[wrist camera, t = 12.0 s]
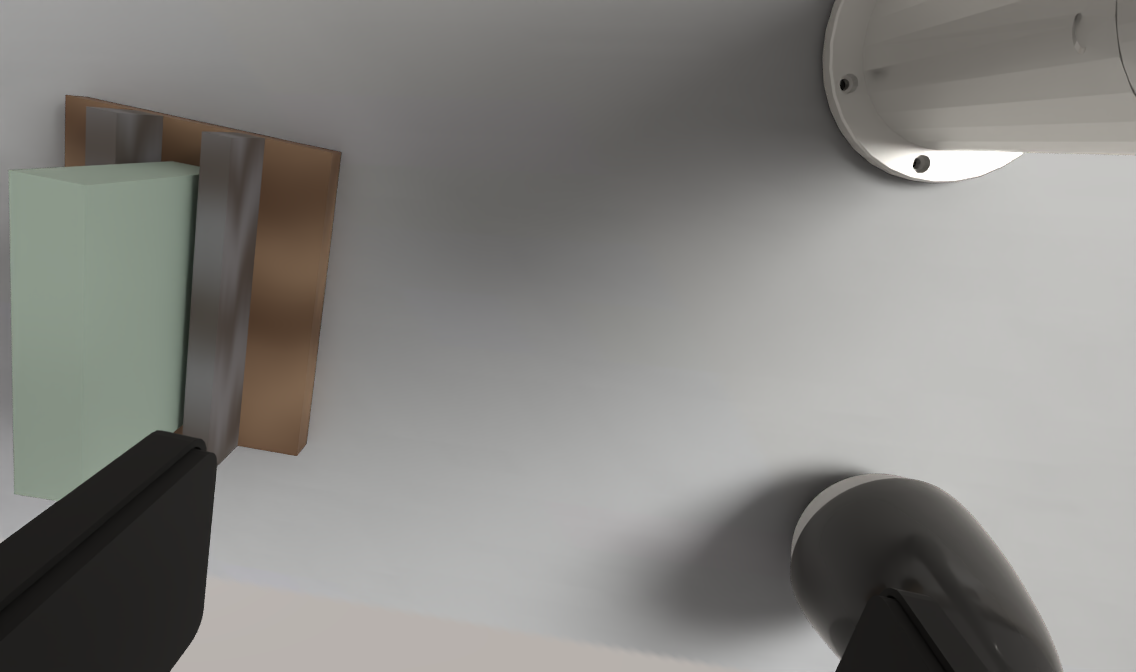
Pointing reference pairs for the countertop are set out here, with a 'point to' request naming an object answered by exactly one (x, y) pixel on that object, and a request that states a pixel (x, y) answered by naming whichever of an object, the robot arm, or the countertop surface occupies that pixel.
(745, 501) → the countertop surface
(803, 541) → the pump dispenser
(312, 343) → the track board
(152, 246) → the door panel
